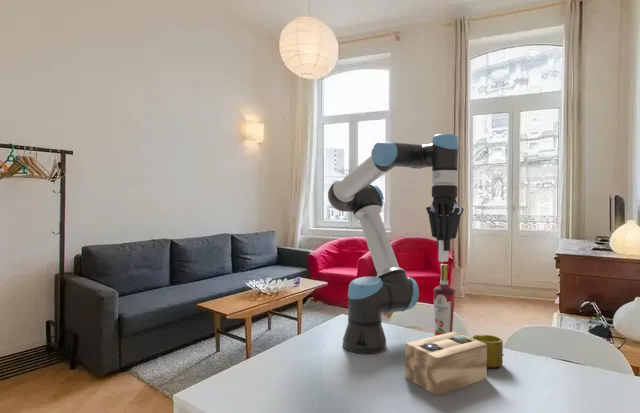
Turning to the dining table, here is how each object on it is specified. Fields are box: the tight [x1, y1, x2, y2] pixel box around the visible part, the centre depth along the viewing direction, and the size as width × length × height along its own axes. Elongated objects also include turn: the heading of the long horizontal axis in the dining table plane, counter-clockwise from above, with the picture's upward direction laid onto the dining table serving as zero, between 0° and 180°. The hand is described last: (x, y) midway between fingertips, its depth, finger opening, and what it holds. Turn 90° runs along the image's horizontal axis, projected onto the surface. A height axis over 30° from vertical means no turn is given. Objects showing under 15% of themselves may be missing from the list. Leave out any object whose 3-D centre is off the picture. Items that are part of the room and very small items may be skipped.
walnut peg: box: [453, 335, 468, 344], centre depth 115 cm, size 4×4×9 cm
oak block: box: [404, 331, 488, 397], centre depth 112 cm, size 12×20×10 cm, turn 120°
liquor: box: [433, 263, 456, 336], centre depth 139 cm, size 7×7×28 cm
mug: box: [470, 333, 504, 369], centre depth 123 cm, size 12×10×10 cm
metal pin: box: [424, 343, 439, 352], centre depth 109 cm, size 4×4×9 cm
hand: (443, 260), depth 120 cm, fingers closed
